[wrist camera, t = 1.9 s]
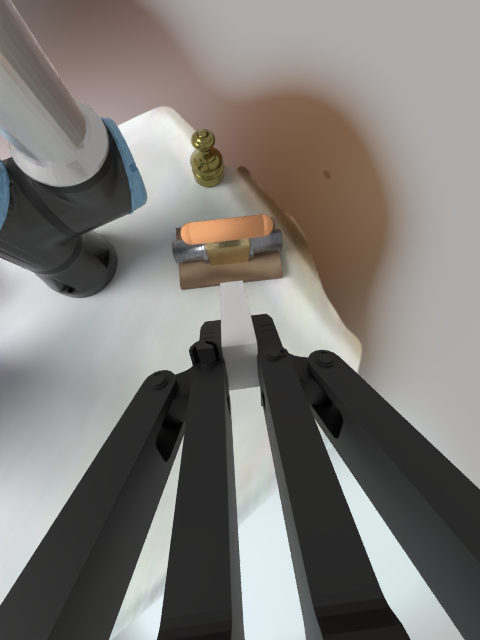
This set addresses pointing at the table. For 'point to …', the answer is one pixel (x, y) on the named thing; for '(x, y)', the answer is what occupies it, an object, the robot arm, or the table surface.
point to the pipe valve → (228, 260)
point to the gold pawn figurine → (206, 159)
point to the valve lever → (226, 229)
